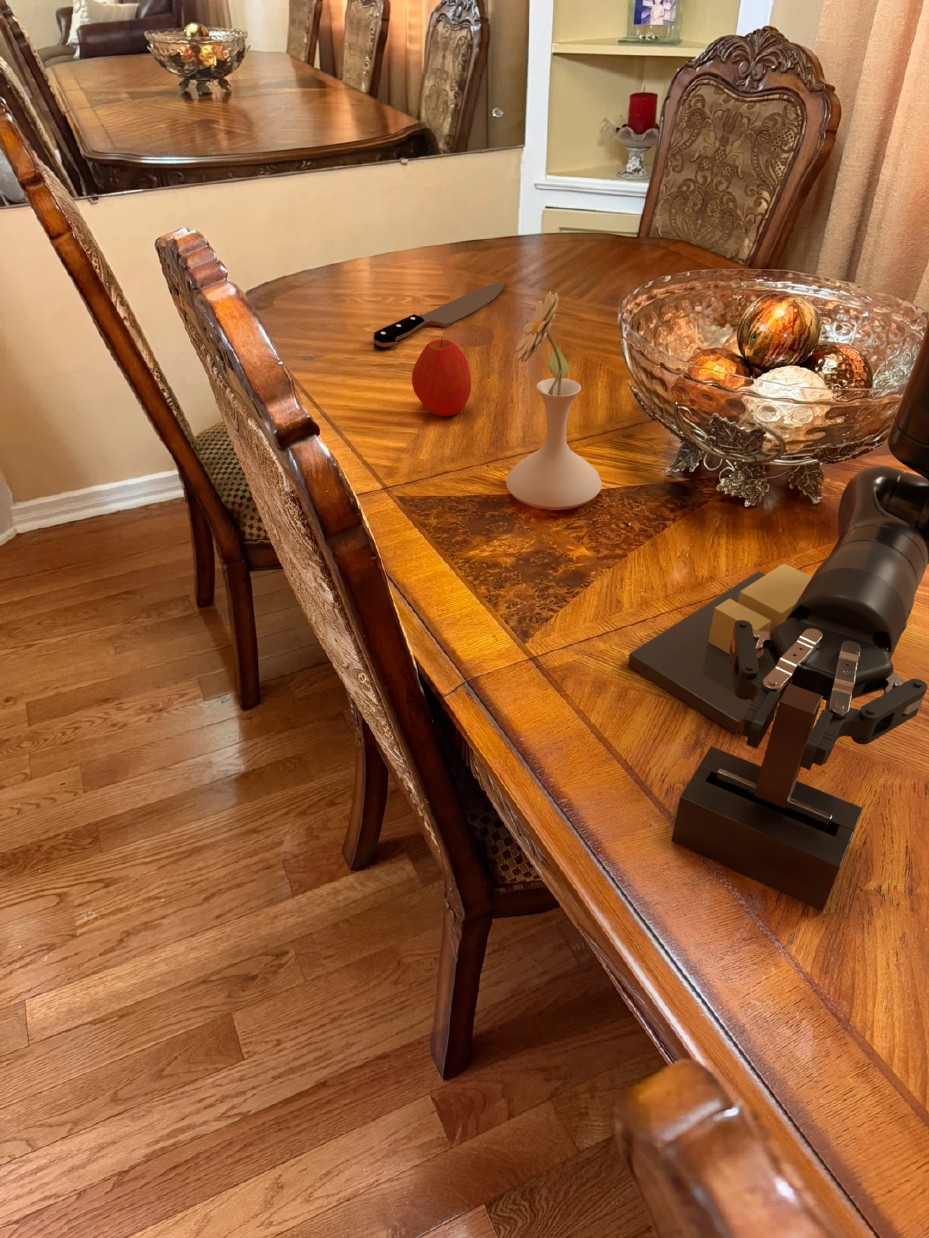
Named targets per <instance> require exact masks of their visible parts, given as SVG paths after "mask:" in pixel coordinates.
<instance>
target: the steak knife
mask: <svg viewBox="0 0 929 1238" xmlns="http://www.w3.org/2000/svg"><path fill="white" fill-rule="evenodd" d="M505 284H506V281H503V282H498V283H494V284H490V285H487V286H484V287H480V288H478V289H476V290H473V291H471V292H469V293H467V294H464V295H463V296H462V295H461V296H460V297H458V298H455V299H453V300H452V301H449V302H447V303H445V304H443V305H441V306H438V307H437V308H434V309H432V310H431V311H428V312H426V313H420V314H419V315H417V314H416V313H413V314H411V315H408V316H407V317H405V318H402V319H400V320H398V321H396V322H394V323H391V324H388V325H386V326H385V327H383V328H380V329H378V330H376V331H375V332H373V337H372V342H373V343H372V344H373V348H375V349H377V350H386V349H392V348H394V347H396V346H397V343H398V342H400V341H402V340H404V339H406V338H409V337H410V336H412V335H413V334H415V333H417V332H418V331H420V330H421V329H422V328H423V327H424V326H425V325H433V326H437V327H442V328H448V327H449V326H450V325H451V324H454V323H455V322H457V321H459V320H461V319H462V318H465V317H466V316H469V315H471V314H473V313H475V312H476V311H478V310H479V309H481V308H483V307H484V306H486V305H487V304H489V303H490V302H492V301H493V300H494V299H496V298H497V297H498V296H499V295H500V293H502V292H503V289H504V287H505Z"/></svg>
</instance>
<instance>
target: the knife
mask: <svg viewBox="0 0 929 1238" xmlns="http://www.w3.org/2000/svg"><path fill="white" fill-rule="evenodd" d="M822 698H823V696H822V695H819V694H816V693H814V692H811V691H808V690H805V689H802V688H800V687H797V686H794V685H791V684H789V685H788V686H787V688H786V690H785V692H784V694H783V695H782V697H781V699H780V701H779V704H778V708H777V710H776V712H775V716H774V719H773V721H772V727H771V730H770V733H769V737H768V741H767V745H766V748H765V753H764V755H763V759H762V764H761V765H760V766H761V770H760V774H759V777H758V781H757V784H756V783H753V782H751V781H749V780H746V779H744V778H741V777H739V776H737V775H734V774H732V773H729V772H727V771H725V770H722V769H719V771H718V773H717V778H716V782H715V786H717V787H720V788H722V789H724V790H727V791H729V792H731V793H734V794H736V795H738V796H741V797H743V798H745V799H748V800H750V801H752V802H755V803H757V804H760V805H762V806H764V807H767V808H769V809H771V810H774V811H776V812H778V813H781V814H783V815H785V816H788V817H790V818H792V819H795V820H797V821H799V822H802V823H804V824H806V825H809V826H811V827H813V828H816V829H818V830H820V831H823V832H825V833H826V832H827V829H828V826H829V824H830V821H831V818H832V815H830V814H828V813H825V812H823V811H820V810H818V809H816V808H813V807H811V806H808V805H806V804H804V803H801V802H799V801H796V800H794V799H792V798H790V797H791V795H792V793H793V790H794V787H795V784H796V781H798V778H799V774H800V772H801V768H802V767H800V766H799V763H800V760H801V757H802V754H803V751H804V748H805V745H806V742H807V740H808V738H809V736H810V734H811V732H812V730H813V728H814V726H815V724H816V721H817V717H818V713H819V712H820V711H819V710H820V708H821V704H822V701H823V699H822Z"/></svg>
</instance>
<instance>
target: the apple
mask: <svg viewBox="0 0 929 1238" xmlns="http://www.w3.org/2000/svg"><path fill="white" fill-rule="evenodd" d="M414 363H415V364H414V366H413V368H412V372H411V385H412V389H413V392H414V393H415V394H414V395H416V397H417V398H418V400H419V401H420V403H421V404H422V406H423V407H424V409H425V410H427V411H428V412H429V413H431V414H434V415H436V416H439V417H449V416H454V415H457V414H460V413H461V412H462V411H463V410H464V408H465V407H466V405H467V403H468V400H469V398H470V395H471V391H472V376H471V371H470V365H469V362H468V360H467V358H466V356H465V354H464V353H463V351H462V350H461V349H460V348H459V346H458V345H457V344H455V342H452V341H451V340H448V339H443V338H440V339H434V340H431V341H429V342H428V343H427V344H426V345H425V346H424V348H423V349H422V351H421V353H420V354H419V356H418V358H417V359H416V362H414Z"/></svg>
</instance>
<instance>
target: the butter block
mask: <svg viewBox="0 0 929 1238" xmlns="http://www.w3.org/2000/svg"><path fill="white" fill-rule="evenodd" d="M811 578H812V576H811V575H809V574H807V573H805V572H803V571H801V570H799V569H796V568H795V567H793V566H791V565H788V564H786V563H784V562H783V563H782V564H780V565H779V566H777V567H775V568H774V569H772V570H771V571H769V572H768V573H766V574H765V576H763V577H762V578H760V579H759V580H757V581H755V582H754V583H752V584H751V585H749V586H748V587H746V588H745V589H743V590H742V591H740V595H739V599H738V603H739V604H741V605H743V606H745V607H747V608H748V609H750V610H752V611H754V612H756V613H758V614H760V615H762V616H763V617H765V618H767V619H769V620H771V624H770V628H769V632H770V631H771V629H772V628H773V627H774V626H776V625H778V624H781V623H783V622H784V621H785V620H786V619H787V617H788V616H789V614H790V612H791V611H792V609H793V607H794V606H795V604H796V602H797V601H798V599H799V598H800V596H801V594H802V593H803V591H804V589H805V588H806V586H807V584H808V583H809V581H810V580H811Z"/></svg>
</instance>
